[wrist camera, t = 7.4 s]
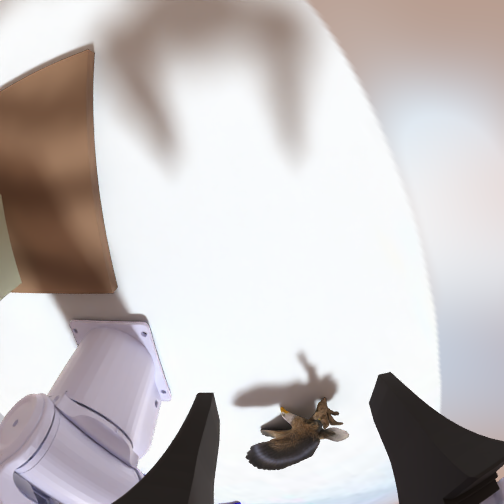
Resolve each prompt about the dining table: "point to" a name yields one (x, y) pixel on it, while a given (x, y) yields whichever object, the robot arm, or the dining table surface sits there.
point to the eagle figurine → (295, 439)
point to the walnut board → (54, 181)
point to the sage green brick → (6, 259)
